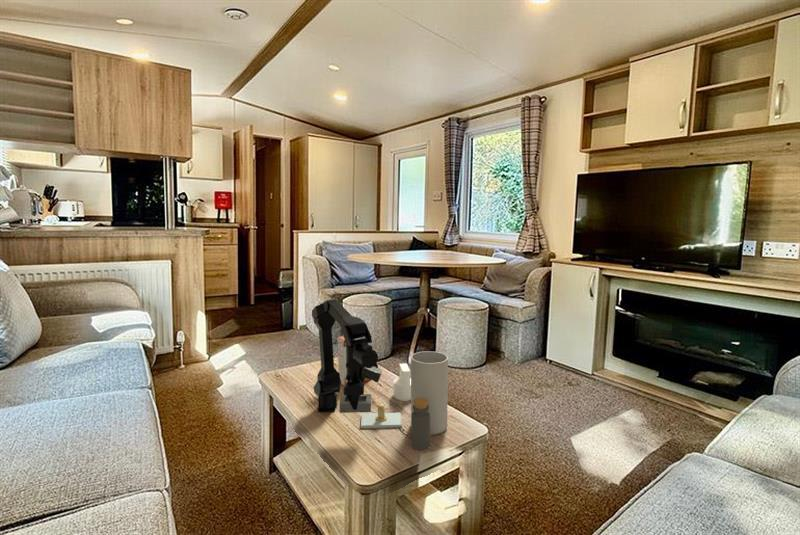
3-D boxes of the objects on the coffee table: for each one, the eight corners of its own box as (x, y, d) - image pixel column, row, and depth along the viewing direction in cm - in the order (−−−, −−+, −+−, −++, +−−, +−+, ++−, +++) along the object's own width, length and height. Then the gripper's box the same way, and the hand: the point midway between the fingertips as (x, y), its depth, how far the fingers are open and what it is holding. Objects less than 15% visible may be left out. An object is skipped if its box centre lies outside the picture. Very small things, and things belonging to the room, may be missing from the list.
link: (339, 412, 137) (339, 403, 137) (341, 403, 144) (341, 394, 144) (370, 412, 138) (370, 403, 137) (371, 402, 145) (371, 394, 144)
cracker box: (365, 375, 195) (364, 331, 192) (372, 379, 190) (371, 334, 188) (337, 382, 187) (336, 336, 184) (344, 387, 182) (343, 339, 179)
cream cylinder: (417, 399, 170) (417, 370, 168) (395, 401, 168) (395, 371, 167) (413, 390, 179) (413, 362, 177) (392, 391, 177) (392, 364, 176)
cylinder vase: (403, 424, 149) (403, 355, 146) (430, 415, 157) (431, 349, 154) (426, 440, 139) (427, 366, 136) (454, 428, 147) (455, 358, 144)
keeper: (360, 428, 147) (360, 411, 146) (362, 416, 156) (361, 400, 155) (401, 427, 148) (401, 410, 147) (400, 415, 157) (400, 399, 156)
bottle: (410, 441, 139) (410, 397, 137) (428, 440, 139) (428, 396, 137) (412, 451, 133) (412, 405, 131) (431, 450, 133) (431, 404, 131)
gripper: (379, 368, 130) (380, 417, 132) (380, 349, 148) (380, 392, 150) (343, 369, 130) (343, 418, 131) (347, 349, 148) (348, 392, 150)
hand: (355, 404), depth 141 cm, fingers closed on link, 7 cm apart
